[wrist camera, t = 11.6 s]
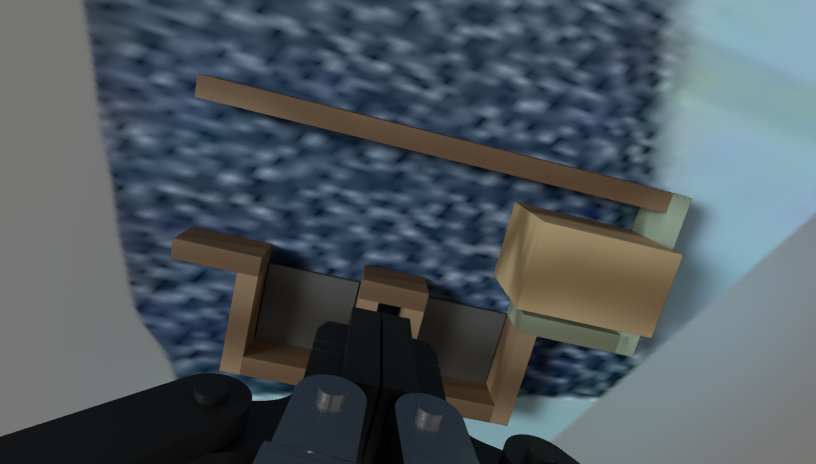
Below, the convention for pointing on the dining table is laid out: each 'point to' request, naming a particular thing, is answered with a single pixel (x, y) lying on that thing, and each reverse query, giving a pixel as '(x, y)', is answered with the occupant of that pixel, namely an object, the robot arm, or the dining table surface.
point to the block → (585, 270)
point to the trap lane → (430, 317)
